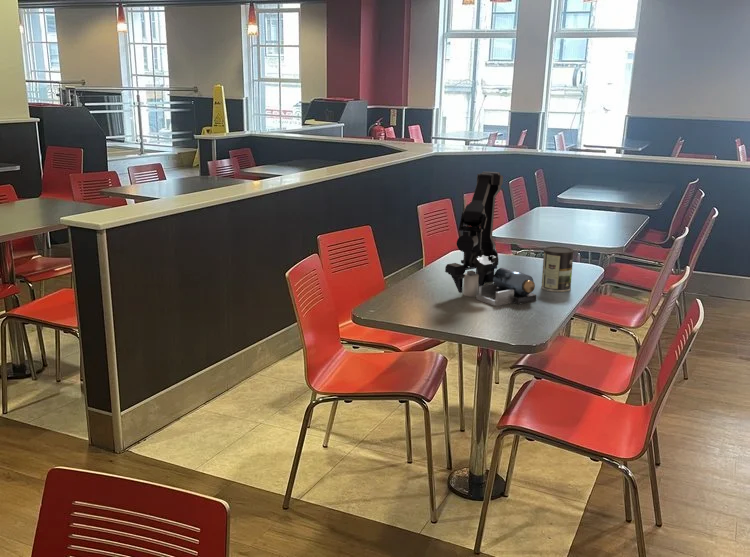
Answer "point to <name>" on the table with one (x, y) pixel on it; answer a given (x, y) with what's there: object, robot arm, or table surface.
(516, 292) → the motor
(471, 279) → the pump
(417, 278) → the table surface
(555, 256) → the coffee can
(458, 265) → the robot arm
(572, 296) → the table surface
